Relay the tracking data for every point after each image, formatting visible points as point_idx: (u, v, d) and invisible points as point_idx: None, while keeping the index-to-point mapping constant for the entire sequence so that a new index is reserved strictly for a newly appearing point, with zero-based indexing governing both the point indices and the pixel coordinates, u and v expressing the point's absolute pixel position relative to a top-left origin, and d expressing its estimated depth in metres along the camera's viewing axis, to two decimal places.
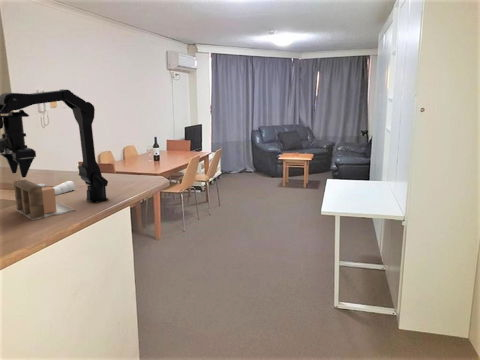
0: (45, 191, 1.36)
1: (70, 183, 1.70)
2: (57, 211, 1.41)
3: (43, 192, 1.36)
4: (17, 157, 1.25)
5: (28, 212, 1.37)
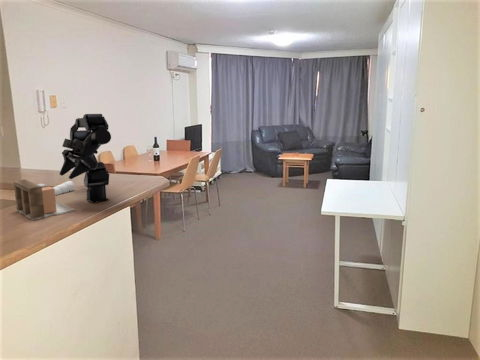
0: (45, 191, 1.36)
1: (70, 183, 1.70)
2: (57, 211, 1.41)
3: (43, 192, 1.36)
4: (84, 159, 1.37)
5: (28, 212, 1.37)
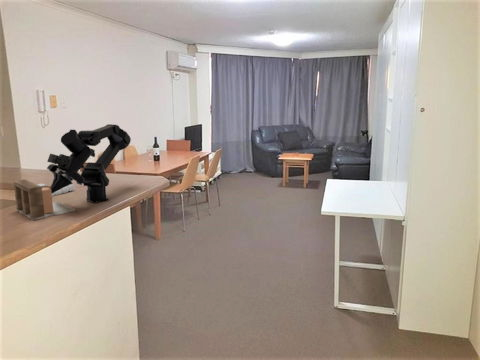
0: (42, 192, 1.35)
1: None
2: (57, 211, 1.41)
3: None
4: (70, 174, 1.34)
5: (28, 212, 1.37)
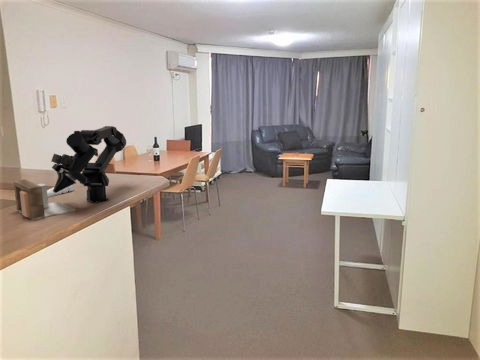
0: None
1: None
2: (57, 211, 1.41)
3: None
4: (72, 174, 1.35)
5: None
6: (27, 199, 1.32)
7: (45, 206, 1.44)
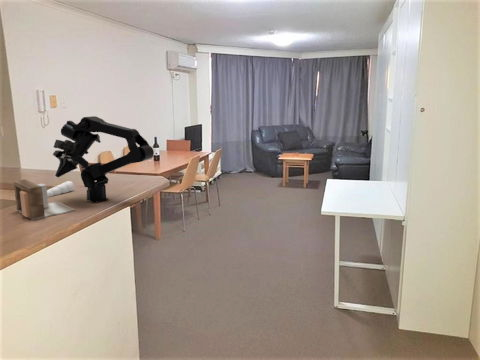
0: None
1: (69, 183, 1.69)
2: (57, 211, 1.41)
3: None
4: (75, 159, 1.42)
5: None
6: (27, 199, 1.32)
7: (45, 206, 1.44)
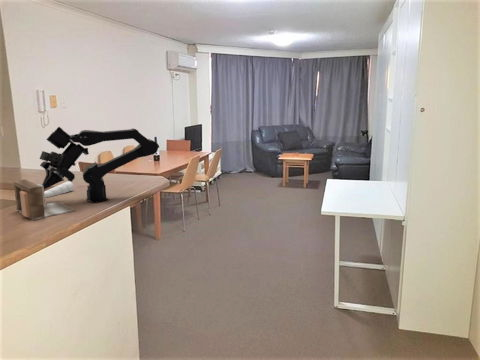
0: None
1: (69, 184, 1.69)
2: (57, 211, 1.41)
3: None
4: (60, 171, 1.39)
5: None
6: (27, 199, 1.32)
7: None
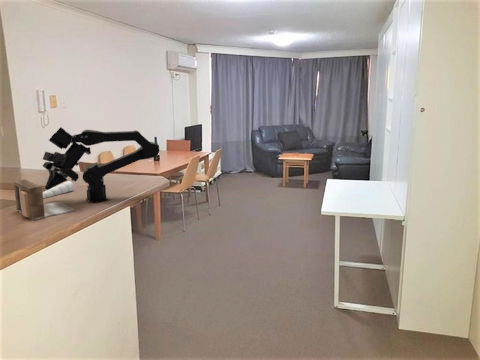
0: None
1: (69, 184, 1.69)
2: (57, 211, 1.41)
3: None
4: (64, 171, 1.40)
5: None
6: (27, 199, 1.32)
7: None
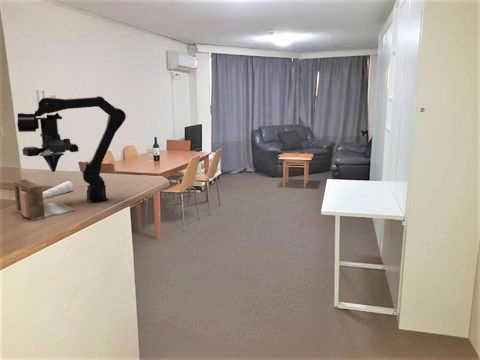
0: None
1: (69, 184, 1.69)
2: (57, 211, 1.41)
3: None
4: (78, 150, 1.52)
5: None
6: (27, 199, 1.32)
7: None
